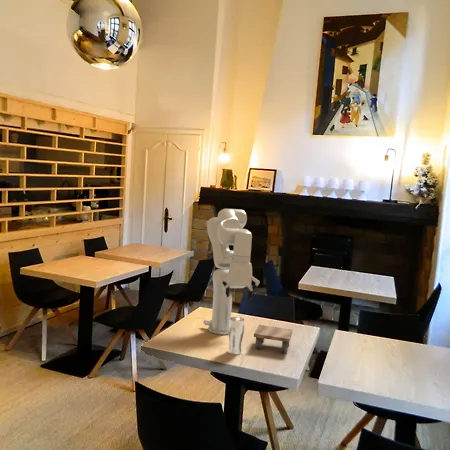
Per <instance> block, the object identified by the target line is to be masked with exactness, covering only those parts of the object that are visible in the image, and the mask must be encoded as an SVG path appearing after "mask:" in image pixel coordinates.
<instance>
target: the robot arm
mask: <svg viewBox="0 0 450 450" xmlns="http://www.w3.org/2000/svg"><path fill="white" fill-rule="evenodd" d="M247 221H248V216H247V213H246V212H245V210H244V209H238V208H237V209H236V208H223V209H221V210H219V212H218V214H217V217H211V218H210V219H208V221H207V223H206V224H207V227H206V229H207V230H206V231H207V235H208V237H209V240H210V242H211V245H212V254H213V262H214V265H215V268H217V269H215V270H214V272H213V274H212V283H213V284H212V285H213V296H212V311H211V320H209V319H208V320H207V319H204V320H203V324H204V325H205V326H208V327H207V331H208V332H210V333H211V334H214V335H220V336H221V335H229V332H228V328H229V320H230V318H231V317H232V309H233V308H232V306H233V296H232V293H231V289H244V288H245V287H246V288H248V290H249V291H248V295H247V297H248V298H247V300H248V301H251V299H252V298H253V295H254V293H253V292H254V290H255V289H257V287H258V286H259V284H260V280H258V279H257V278H255V276H253V266H252V263H251V252H252V238H253V234H252V232H251V231H249V230H248V229H246V228H244V227H245V226H246V225H247ZM229 246H233V249H231V250H230V247H229ZM253 282H254V283H255V284H254V285H252V283H253Z"/></svg>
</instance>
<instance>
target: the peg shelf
mask: <svg viewBox="0 0 450 450" xmlns="http://www.w3.org/2000/svg"><path fill="white" fill-rule="evenodd" d="M292 334H293V328H292V329H291V328H285V327H284V328H283V327H279V326H278V327H276V326H271V325H270V326H269V325H265V324H258V326H257V328H256V329H255V331H254V333H253V338H255V344H254V345H255V348H254V349H255V350H256V351H261V347H262V346H261V345H262V344H263V343H265V340H271V341H272V340H273V341H279V342H281V354H282V355H287V354H288V347H290V341H291V338H292Z"/></svg>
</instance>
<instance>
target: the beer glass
mask: <svg viewBox="0 0 450 450" xmlns="http://www.w3.org/2000/svg"><path fill="white" fill-rule="evenodd" d="M228 332H229V334H228V341H229V342H228V349H227V352H228V353H229V354H230V355H234V356H235V355H236V356H237V355H241V354H242V352H243V351H242V343H243V342H242V341H243V338H244V334H245V318H244V317H239V316H231V318H230V320H229V328H228Z"/></svg>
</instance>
